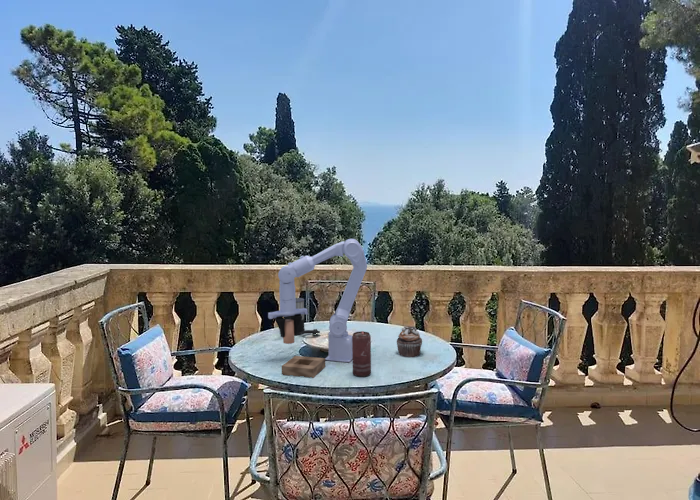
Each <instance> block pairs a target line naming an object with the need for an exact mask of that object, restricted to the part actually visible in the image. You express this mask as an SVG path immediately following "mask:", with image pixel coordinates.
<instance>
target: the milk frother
mask: <svg viewBox="0 0 700 500" xmlns="http://www.w3.org/2000/svg"><path fill="white" fill-rule="evenodd" d="M304 301H305V299H304V298H302V297H296V309H302V308H305V306H304V305H305V303H304ZM301 316H302V320H301V322H300V324H299V326H298V330H297V335H296V336H299V335H304V334H308V335H309V334H312V335H313V334H316V333H317V334H321V331H320V330H318V329H317V328H314V329H311V330H310V329H305V314H301ZM283 318H284V320H287V319H291V320H292V318H291V316H286V317H283Z"/></svg>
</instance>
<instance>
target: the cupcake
mask: <svg viewBox="0 0 700 500" xmlns="http://www.w3.org/2000/svg"><path fill="white" fill-rule="evenodd" d="M419 332H420V331H419V330H417V328H416V327H415V326H408V327H407V326H403V327H401V331H400V333H399V334H398V338H397V339H396V345H397V346H396V347H397V352H398V354H399V356H401V357H406V358H411V357H412V358H415V357H419V356H420V355H421V348H422V344H423V338H422V337H421V335H420V333H419Z"/></svg>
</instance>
